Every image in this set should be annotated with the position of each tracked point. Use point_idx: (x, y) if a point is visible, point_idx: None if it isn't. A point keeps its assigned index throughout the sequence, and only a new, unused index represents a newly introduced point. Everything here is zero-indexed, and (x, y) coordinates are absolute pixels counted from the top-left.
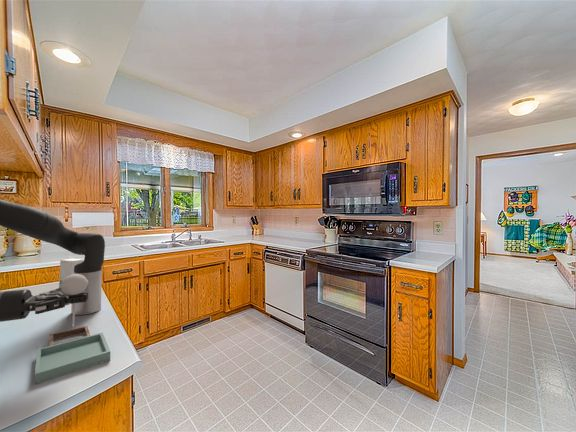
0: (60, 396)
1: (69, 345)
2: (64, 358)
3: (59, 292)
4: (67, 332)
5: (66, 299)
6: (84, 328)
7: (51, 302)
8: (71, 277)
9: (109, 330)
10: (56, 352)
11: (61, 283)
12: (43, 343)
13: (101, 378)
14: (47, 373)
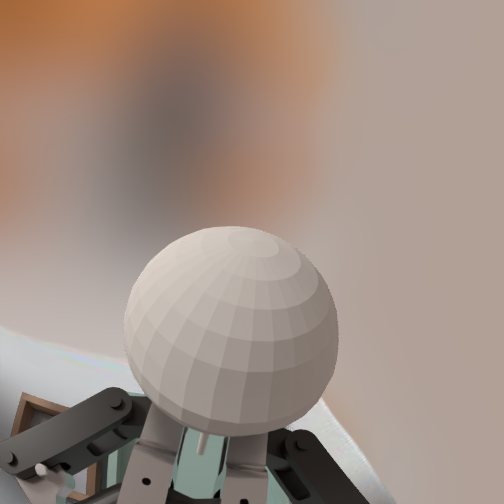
0: (360, 475)
1: (118, 469)
2: (194, 490)
3: (141, 454)
4: None
5: (281, 429)
6: (27, 402)
7: (349, 488)
8: (318, 285)
9: (71, 368)
10: None
11: (276, 405)
12: (21, 489)
13: (332, 424)
14: None
